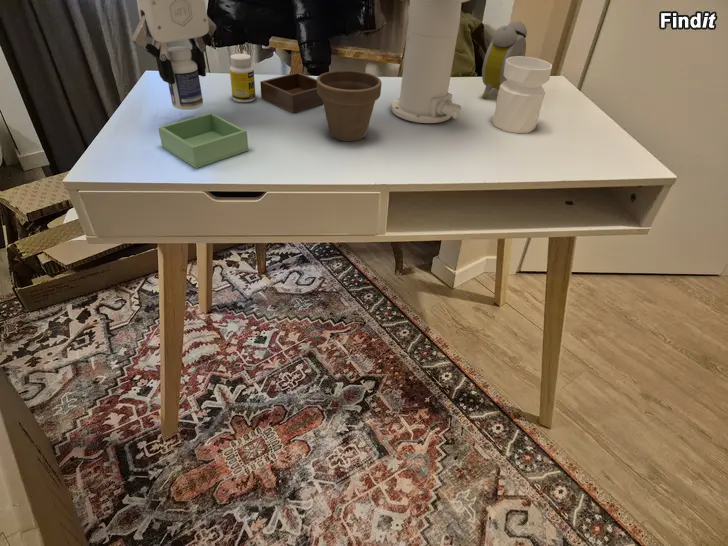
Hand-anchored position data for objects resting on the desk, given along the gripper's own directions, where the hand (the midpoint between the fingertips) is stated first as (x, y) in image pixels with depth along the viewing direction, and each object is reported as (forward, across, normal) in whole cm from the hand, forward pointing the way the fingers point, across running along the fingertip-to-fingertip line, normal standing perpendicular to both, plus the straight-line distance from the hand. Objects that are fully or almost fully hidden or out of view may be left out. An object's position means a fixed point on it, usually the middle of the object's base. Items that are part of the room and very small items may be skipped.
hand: (184, 77), depth 88 cm
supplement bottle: (+8, +14, +4) cm, 17 cm away
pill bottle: (+5, 0, 0) cm, 5 cm away
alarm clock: (+10, +61, -30) cm, 69 cm away
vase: (+10, +48, -40) cm, 64 cm away
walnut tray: (+8, +22, -4) cm, 24 cm away
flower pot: (+9, +18, -22) cm, 30 cm away
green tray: (+8, -5, -12) cm, 15 cm away
